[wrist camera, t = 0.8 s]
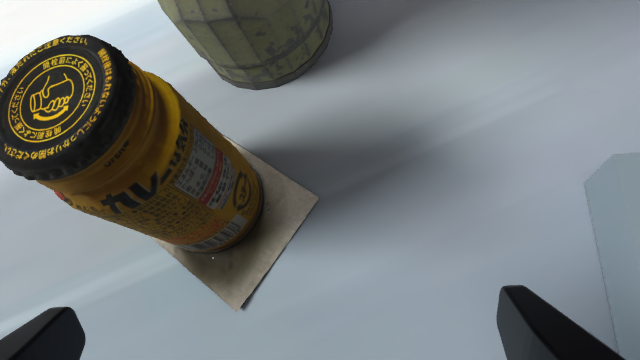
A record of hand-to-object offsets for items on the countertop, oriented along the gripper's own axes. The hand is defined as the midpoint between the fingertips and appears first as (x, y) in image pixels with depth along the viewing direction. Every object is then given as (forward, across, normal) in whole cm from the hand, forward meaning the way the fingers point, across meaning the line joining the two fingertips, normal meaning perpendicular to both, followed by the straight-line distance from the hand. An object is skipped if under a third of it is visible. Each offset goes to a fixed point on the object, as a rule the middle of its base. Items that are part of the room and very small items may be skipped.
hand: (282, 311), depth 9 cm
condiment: (+14, +6, +6) cm, 16 cm away
